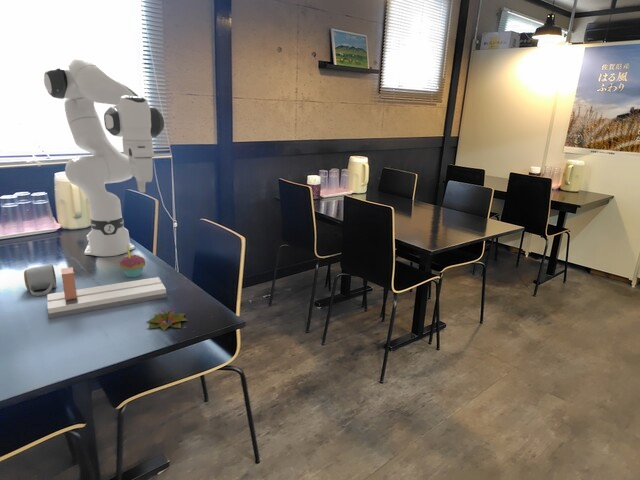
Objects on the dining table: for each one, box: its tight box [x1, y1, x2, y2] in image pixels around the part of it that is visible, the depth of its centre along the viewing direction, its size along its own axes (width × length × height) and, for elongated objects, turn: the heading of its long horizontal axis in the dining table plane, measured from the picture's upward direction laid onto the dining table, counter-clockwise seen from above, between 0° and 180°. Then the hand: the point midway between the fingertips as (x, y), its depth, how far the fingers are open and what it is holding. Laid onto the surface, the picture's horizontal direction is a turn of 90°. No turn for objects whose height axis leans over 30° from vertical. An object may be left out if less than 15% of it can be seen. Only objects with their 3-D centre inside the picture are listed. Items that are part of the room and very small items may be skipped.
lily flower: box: [146, 305, 189, 332], centre depth 122 cm, size 12×12×5 cm
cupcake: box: [119, 246, 146, 278], centre depth 153 cm, size 9×8×12 cm
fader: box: [60, 266, 77, 300], centre depth 127 cm, size 5×3×10 cm, turn 31°
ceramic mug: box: [23, 264, 58, 297], centre depth 138 cm, size 11×8×8 cm
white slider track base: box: [46, 276, 167, 319], centre depth 133 cm, size 11×32×3 cm, turn 121°
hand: (141, 191), depth 142 cm, fingers closed
